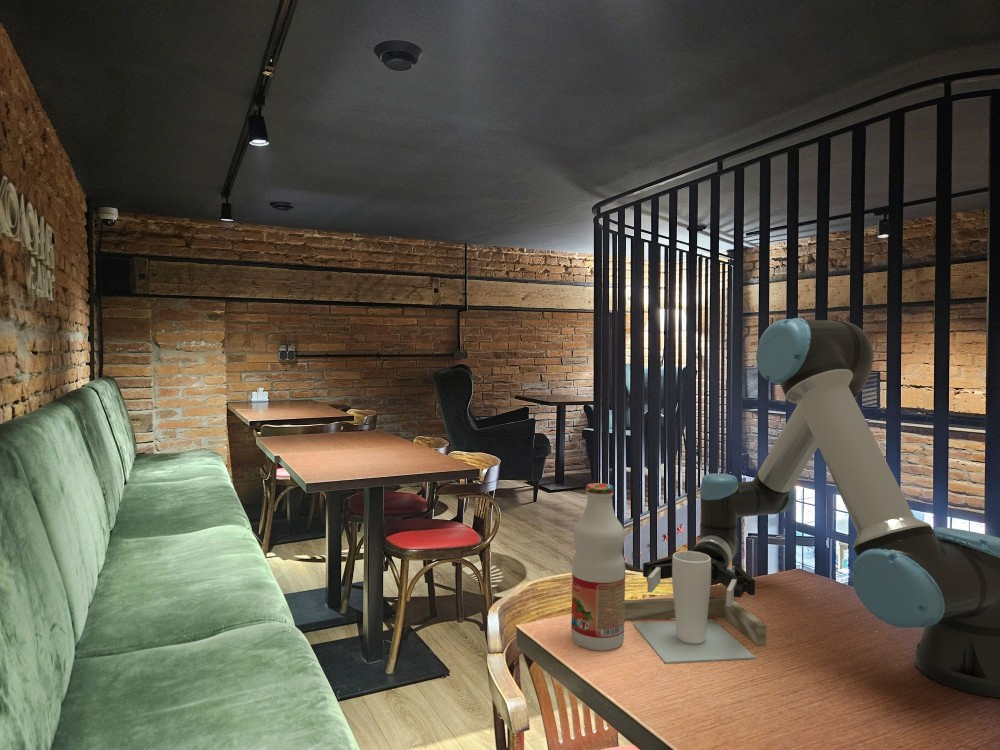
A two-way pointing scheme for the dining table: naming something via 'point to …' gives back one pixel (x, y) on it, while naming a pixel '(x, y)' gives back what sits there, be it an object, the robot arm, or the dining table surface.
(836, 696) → the dining table surface
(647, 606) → the birch walls
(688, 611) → the drinking glass
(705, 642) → the pad
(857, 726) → the dining table surface
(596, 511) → the fruit juice
